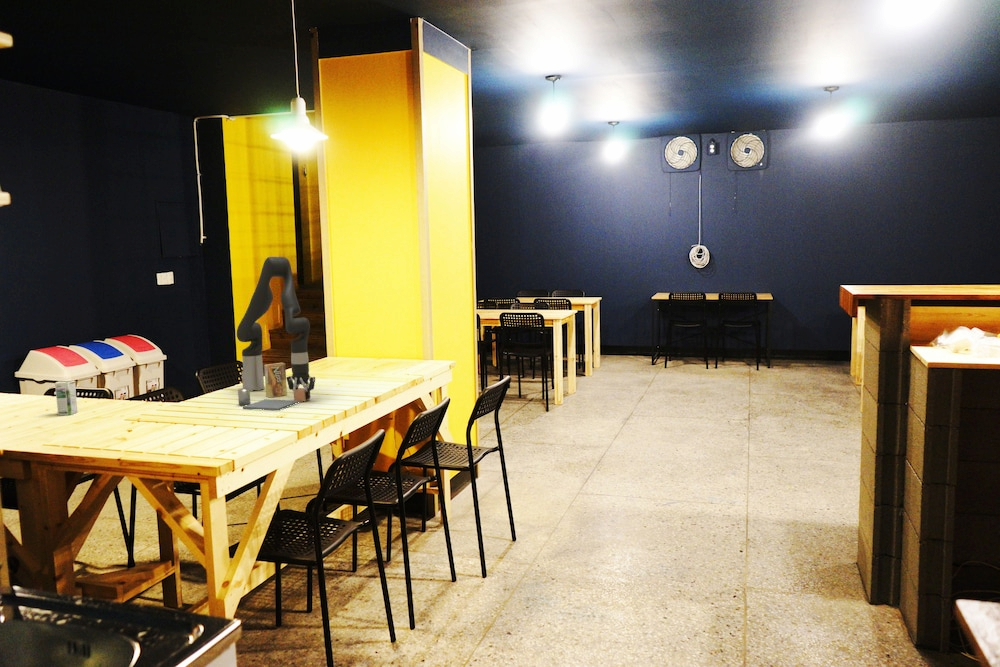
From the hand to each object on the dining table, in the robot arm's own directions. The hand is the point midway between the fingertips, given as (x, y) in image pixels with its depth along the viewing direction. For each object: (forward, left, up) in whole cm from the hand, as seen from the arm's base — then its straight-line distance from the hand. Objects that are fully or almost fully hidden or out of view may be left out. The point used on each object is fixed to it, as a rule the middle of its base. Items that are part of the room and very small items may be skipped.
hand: (302, 399), depth 339 cm
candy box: (-19, +8, -1) cm, 20 cm away
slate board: (-8, -12, -1) cm, 14 cm away
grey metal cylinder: (-22, -12, -1) cm, 25 cm away
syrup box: (-90, -43, -1) cm, 100 cm away
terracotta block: (0, 0, 0) cm, 0 cm away
